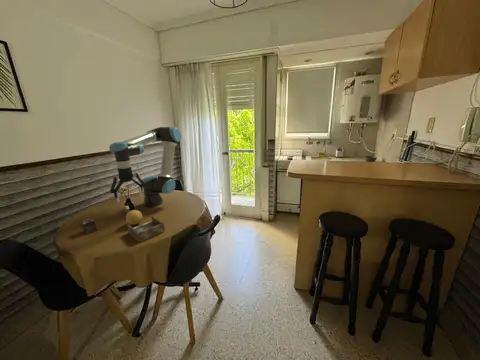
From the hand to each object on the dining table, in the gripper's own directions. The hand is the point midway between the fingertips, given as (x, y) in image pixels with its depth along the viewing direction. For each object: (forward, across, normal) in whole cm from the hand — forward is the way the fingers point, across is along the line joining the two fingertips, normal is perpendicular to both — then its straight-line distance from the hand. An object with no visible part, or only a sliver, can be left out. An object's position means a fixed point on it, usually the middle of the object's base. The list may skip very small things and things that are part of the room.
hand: (130, 199), depth 131 cm
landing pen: (+18, -1, +16) cm, 24 cm away
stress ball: (+18, 0, 0) cm, 19 cm away
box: (+19, +23, -13) cm, 32 cm away
